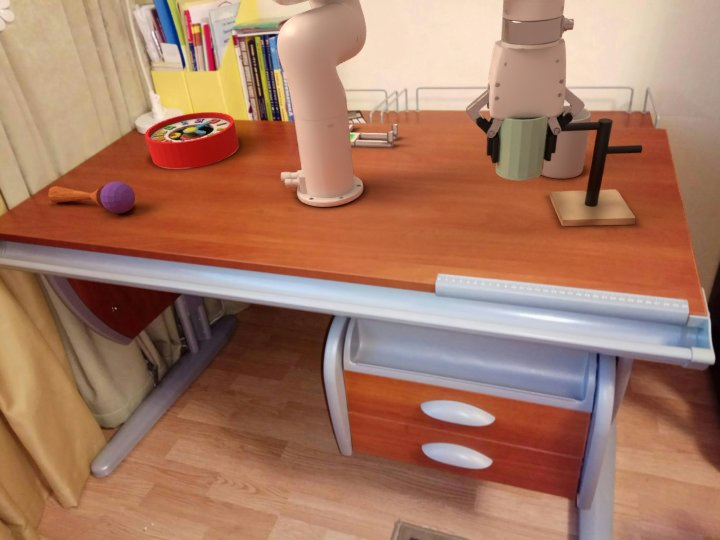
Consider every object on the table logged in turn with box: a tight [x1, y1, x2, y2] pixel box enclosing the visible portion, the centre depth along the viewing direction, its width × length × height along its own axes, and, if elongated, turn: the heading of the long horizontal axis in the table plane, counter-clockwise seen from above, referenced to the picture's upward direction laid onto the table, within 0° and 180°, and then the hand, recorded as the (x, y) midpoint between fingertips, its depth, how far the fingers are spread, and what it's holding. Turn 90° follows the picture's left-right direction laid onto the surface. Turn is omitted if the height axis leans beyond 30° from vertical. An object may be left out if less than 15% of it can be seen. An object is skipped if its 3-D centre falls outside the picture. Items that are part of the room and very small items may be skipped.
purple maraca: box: [47, 181, 136, 214], centre depth 106 cm, size 6×6×20 cm
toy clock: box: [144, 111, 240, 170], centre depth 127 cm, size 20×6×20 cm
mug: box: [540, 105, 592, 180], centre depth 103 cm, size 12×8×11 cm
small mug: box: [494, 116, 549, 182], centre depth 82 cm, size 11×7×9 cm, turn 175°
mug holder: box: [549, 117, 643, 227], centre depth 87 cm, size 19×10×15 cm, turn 85°
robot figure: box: [349, 123, 399, 149], centre depth 124 cm, size 16×3×22 cm
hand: (519, 157), depth 82 cm, fingers closed on small mug, 7 cm apart
